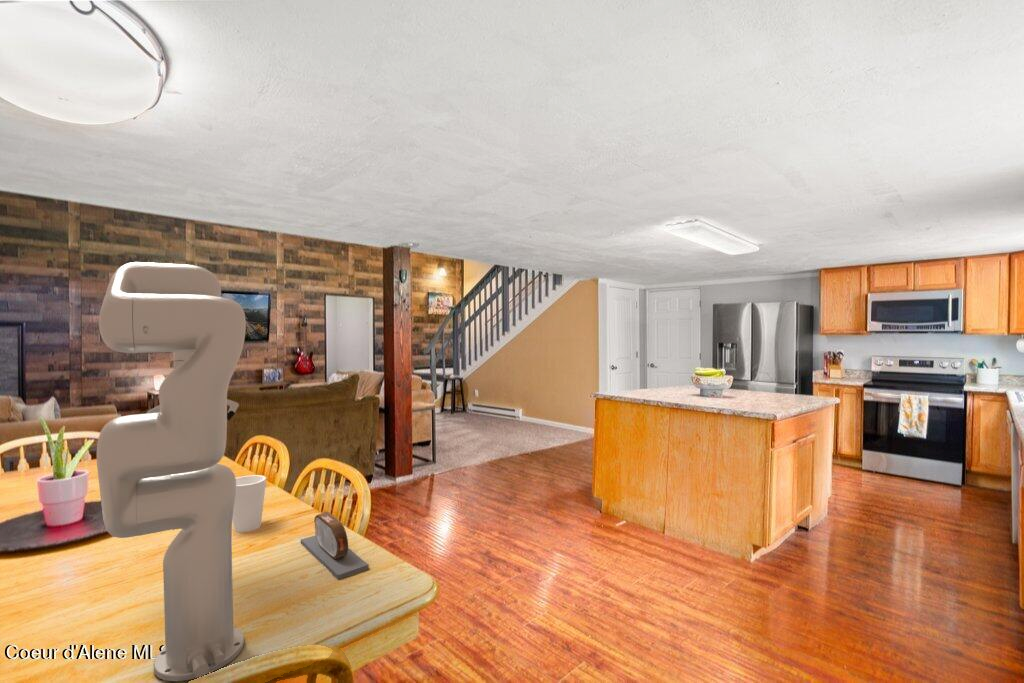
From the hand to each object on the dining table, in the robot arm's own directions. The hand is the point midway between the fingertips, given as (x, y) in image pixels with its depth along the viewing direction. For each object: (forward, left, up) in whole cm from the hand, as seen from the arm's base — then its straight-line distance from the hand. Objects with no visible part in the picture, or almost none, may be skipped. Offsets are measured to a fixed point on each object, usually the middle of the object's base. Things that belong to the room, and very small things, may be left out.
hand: (196, 444), depth 110 cm
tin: (-14, -24, -28) cm, 39 cm away
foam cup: (+18, -14, -28) cm, 36 cm away
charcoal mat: (-14, -25, -28) cm, 40 cm away
